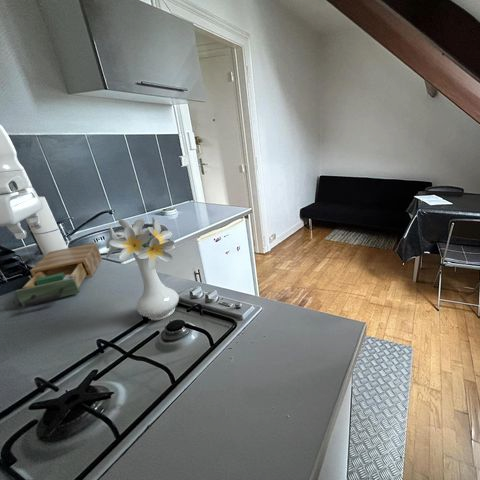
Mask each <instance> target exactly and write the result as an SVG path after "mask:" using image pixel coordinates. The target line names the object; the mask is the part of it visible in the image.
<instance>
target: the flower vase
mask: <svg viewBox="0 0 480 480" xmlns="http://www.w3.org/2000/svg"><path fill="white" fill-rule="evenodd" d="M145 223H146V221H145V219H144V218H138V219H136V220H135V221H134V223H133V224H131V223H130V222H129V221H128V220H126V219H120V218H119V220H118V224H119V226H121V227H122V229H119V230H117V231H116V232H115V231H114V229H113V227H111V226H109V228H108V229H109V230H108V231H109V237H110V238H111V239H108V241H107V242H106V245H105V248H106V249H108V251H107V253H106V257H105V260H107V259H108V258H109V257H110V256H111V254H112V253H113V252H114V251H115V250H116V249H122V250H121V251H120V253H119V255H118V260H119V261H120V262H125V261H127V260H128V259H130V257H131V256H133V258H134V259H135V261H136V263H137V265H138V269H139V272H140V275H141V278H142V284H143V292H142V294H141V296H140V297H139V299H138V301H137V304H136V311H137V312H138V314H139V315H141V316H142V317H143V318H144V317H145V318H148V319H149V320H150V319H151V321H161V320H165V319H166V318H168V317H170V316H172V315H173V314H174V313H175V311H176V308H177V306H178V304H179V301H180V295H179V294H178V293H177V291H176V290H175V289H173V288H171V287H168V286H166V285H165V284H164V283H163V282H162V281H161V279H160V277H159V276H158V275H159V274H158V273H157V270H156V267H157V265H158V263H159V260H160V261H163V262H171V261H173V260H174V258H173V255H172V254H171V253H169V252H168V251H167V250H169V249H176V246H175V241H174V240H172V239H170V238H172V237H173V233H172V231H170V230H167V228H166V227H165V225H163V224H160V222H159V221H158V220H156V219H155V218H154V217H152V218H151V223H152V226H148V227H146V228H143V227H144V226H145ZM150 234H151V235H150Z"/></svg>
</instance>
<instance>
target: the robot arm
mask: <svg viewBox="0 0 480 480" xmlns="http://www.w3.org/2000/svg"><path fill="white" fill-rule="evenodd" d="M39 197H40V196H39V195H38V193H37V191H36V190H35V188H34V187H33V185H32V183H31V179H30V177H29V176H28V174H27V172H26V169H25V168H24V166H23V165H22V164H21V162H20V160H19V159H18V152H17V150H16V147H15V146H14V143H13V142H12V139H11V138H10V136H9V134H8V132H7V131H6V129H5V127H3V126H2V124H1V123H0V228H1V227H6V228H7V230H8V231H10V233H12V234H13V235H14V237H15V239H16V240H23V239H26V238H28V236H29V235H28V233H27V230H24V229H23V227H22V226H21V225H22V224H21V222H22V221H23V220H26V219H25V218H27V217H28V218H29V221H30V224H29V225H30V227H31V229H33V230H34V229H39V228H41V224H40V222H39V214H38V211H40V210H42V209H43V205H42V203H41V201H40V199H39Z"/></svg>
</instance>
